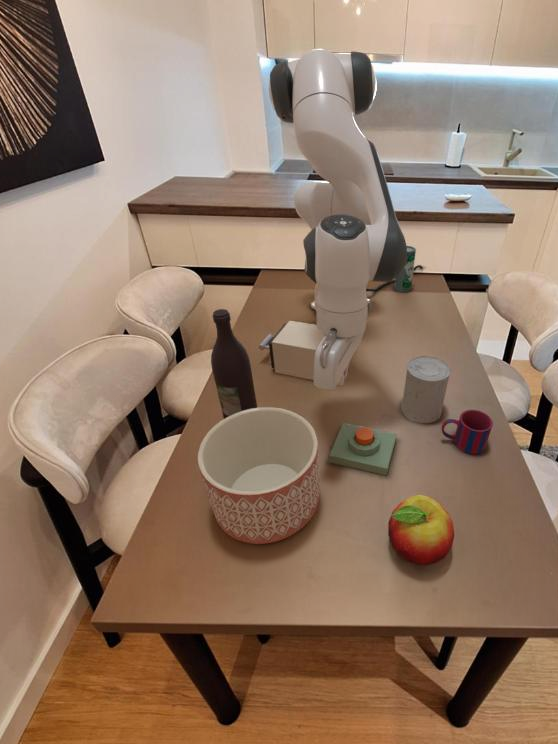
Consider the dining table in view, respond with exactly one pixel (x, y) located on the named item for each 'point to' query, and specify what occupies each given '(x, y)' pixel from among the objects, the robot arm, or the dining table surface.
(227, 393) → the wine bottle
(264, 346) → the drawer
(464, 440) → the mug
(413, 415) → the gray concrete cylinder
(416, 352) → the dining table surface
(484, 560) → the dining table surface
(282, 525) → the planter
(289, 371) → the cream cardboard box
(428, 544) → the fruit
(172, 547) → the dining table surface
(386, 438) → the box
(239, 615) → the dining table surface
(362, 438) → the button
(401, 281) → the can
